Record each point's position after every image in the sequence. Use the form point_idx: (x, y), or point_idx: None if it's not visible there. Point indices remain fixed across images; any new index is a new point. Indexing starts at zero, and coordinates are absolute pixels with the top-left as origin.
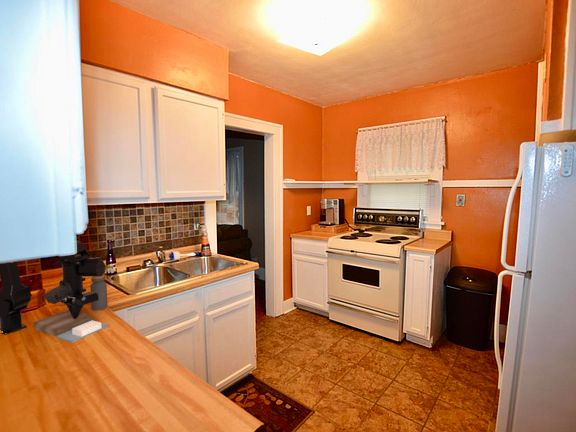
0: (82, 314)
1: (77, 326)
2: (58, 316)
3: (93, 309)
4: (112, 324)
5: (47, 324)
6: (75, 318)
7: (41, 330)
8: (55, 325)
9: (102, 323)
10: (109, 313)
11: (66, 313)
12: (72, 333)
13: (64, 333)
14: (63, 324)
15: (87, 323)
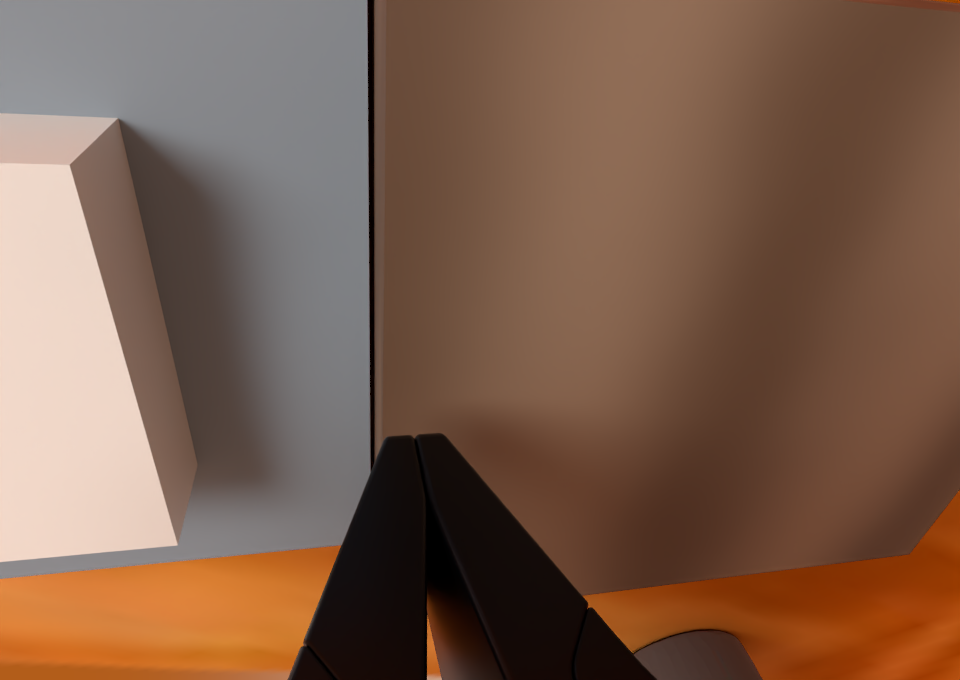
0: (567, 570)
1: (98, 293)
2: (919, 386)
3: (690, 640)
4: (24, 592)
5: (904, 58)
6: (383, 452)
7: (943, 4)
8: (652, 92)
9: (134, 554)
10: (437, 671)
11: (860, 488)
12: (104, 120)
13: (324, 69)
14: (501, 209)
15: (85, 457)
